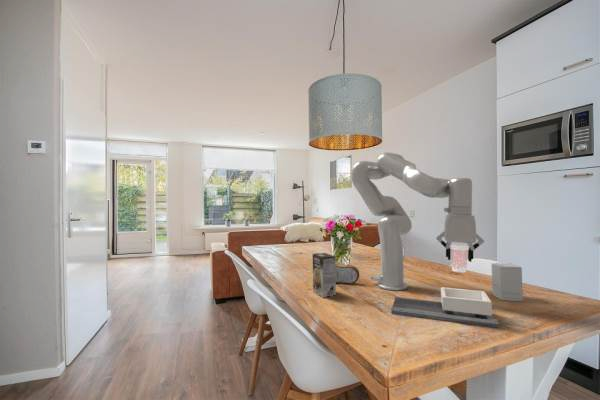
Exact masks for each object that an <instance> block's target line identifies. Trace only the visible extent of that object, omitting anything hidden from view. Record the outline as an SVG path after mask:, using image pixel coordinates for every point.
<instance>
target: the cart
mask: <svg viewBox="0 0 600 400" xmlns="http://www.w3.org/2000/svg"><path fill="white" fill-rule="evenodd" d="M440 299H441V300H440V302H442V308H443V310H446V313H447V314H453V311H457V312H465V313H473V314H479V317H480V318H486V319H487V315H490V316H492V315H493V312H492V309H493V308H492V306H493V305H492V300H491V299H490V298H489V296H488V294H487V293H486V291H483V290H474V289H463V288H453V287H443V286H442V287H440Z"/></svg>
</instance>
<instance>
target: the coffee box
mask: <svg viewBox="0 0 600 400" xmlns="http://www.w3.org/2000/svg"><path fill="white" fill-rule="evenodd" d="M336 264H337V263H336V255H332V254H330V253H326V252H323V253H321V252H319V253H318V252H317V253H312V284H313V285H312V287H313V288H312V289H313V290H312V291H314V293H315V292H316V293H315V294H316V295H318V294H319V296H320V297H321V296H322V297H321V298H323V297H324V298H328V297H327V296H330V297H334V296H333V295H337V290H336V289H337V287H336V286H337V283H336Z"/></svg>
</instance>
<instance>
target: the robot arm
mask: <svg viewBox="0 0 600 400" xmlns="http://www.w3.org/2000/svg"><path fill="white" fill-rule="evenodd" d="M390 176H392V177H394V178H395V179H398V180H399V181H401V182H403V183H404V184H405V185H406V186H408V188H410V189H412V190H414V191H415V192H417V193H419V194H421V195H423V196H425V197H427V198H430V199H431V198H435V199H437V198H438V199H442V198H448V207H444V208H443V212H444V213H445V212H446V213H448V214H446V215H445V221H444V230H443V231H442V232H441V233H440V234H439V235H438V236H436V240H437V241H438V242H439V243H440V244H441V245H442V246H443V247H444V248H445V257H446V258H447V260H449V261H450V260H451V248H450V246H451V244H452V243H458V244H459V243H460V244H467V245H468V247H469V250H468V257H467V262H471V263H472V260H474V251H475V250H476V249H478V248H479V247H480V246H481V245H483V243H485V240H484V239H483V238H482V237H481V236H479V234H478V233H477V224H476V219H475V215H472V214H473V212H472V211H473V204H472V203H473V181H472V179H471V178H469V177H457V178H456V177H455V178H450V179H448V178H447V179H446V178H438V177H433V176H431V175H428V174H427V173H425V172H423V171H420V170H419V169H418V168H417V166H416V164H415V163H413V162H410V160H406V159H405V157H403V156H402V154H398V153H395V152H394V153H393V152H383V153H381V154H380V155H379V156H378V157H377V160H376V162H375V161H368V160H362V161H361V160H360V161H358V162H356V163H355V164H354V165H353V167H352V169H351V182H352V184H353V186H354V188H355V189H356V191H357V192H358V194H359V195H360V197H361V199H362V201H363V202H364V204H365V205H366V207H367V209H368V210H369V211H370V213H371V215H373V216H376V217H381V218H380V219H379V221H378V224H377V231H378V236H379V237H378V238H379V244H380V247H379V248H380V275H374V274H372V275H371V276H370V277H371V280H372V281H375V282H377V281H378V282H377V286H378V287H379V288H380V289H382V290H383V289H384V290H388V291H404V290H406V289H408V287H409V286H408V283H407V282H405V279H404V278H405V276H404V275H405V274H404V246H403V245H404V244H403V241H402V237H401V236H404V235H407V234H409V233H410V231H411V230H412V228H413V227H412V225H413V224H412V223H413V222H412V221H411V219H410V216H408V214H407V212H406V211H405V209H404V208H403V206H402V205H401V204H400V203H399V201H398V200H397V199H396V198H394V197H393V196H389V195H384V194H382V192H381V191H380V190H379V188H378V186H377V185H376V184H375V183H374V182H372V180H380V179H385V178H387V177H390ZM443 238H444V240H445V241H446V242H445V241H444V240H443ZM476 241H477V242H476Z"/></svg>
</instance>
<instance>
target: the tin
mask: <svg viewBox="0 0 600 400" xmlns="http://www.w3.org/2000/svg"><path fill="white" fill-rule="evenodd" d="M359 278H360V271H359V270H358V268H357V267H356V266H354V265H352V264H351V265H350V264H337V263H336V282H337V283H336V284H344V283H348V284H347V285H353V284H355V283H357V282H358V281H359Z"/></svg>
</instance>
